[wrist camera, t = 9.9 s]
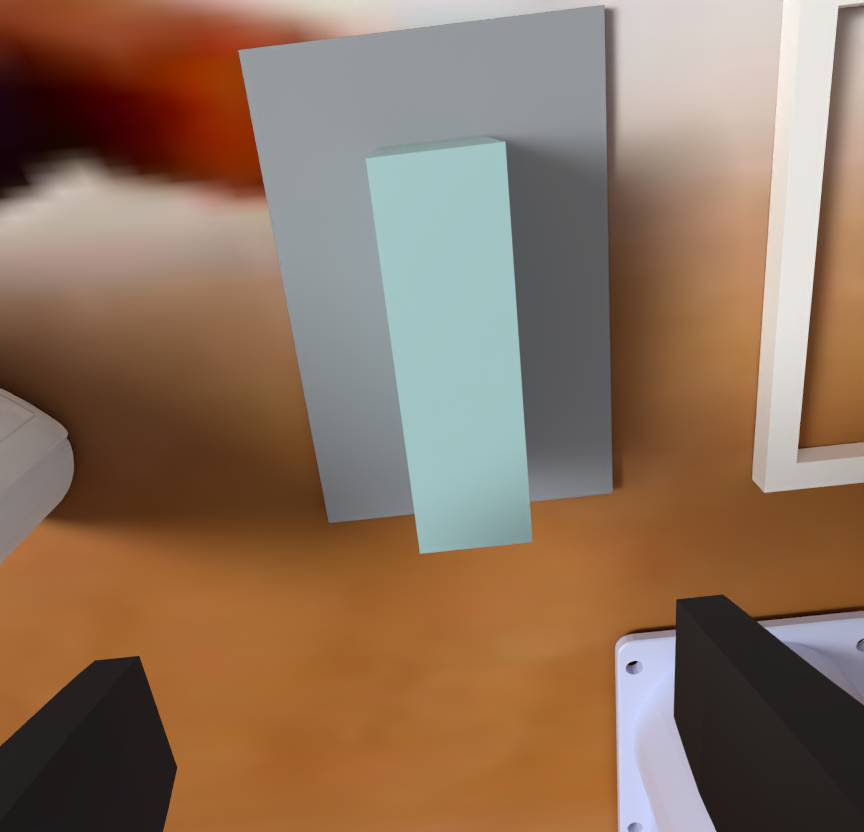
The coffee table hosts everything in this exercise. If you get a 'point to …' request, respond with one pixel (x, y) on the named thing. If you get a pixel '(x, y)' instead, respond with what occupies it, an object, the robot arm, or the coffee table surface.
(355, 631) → the coffee table surface
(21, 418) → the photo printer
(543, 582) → the coffee table surface
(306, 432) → the coffee table surface
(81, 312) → the coffee table surface
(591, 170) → the mat
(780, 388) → the rack
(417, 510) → the pale teal block
